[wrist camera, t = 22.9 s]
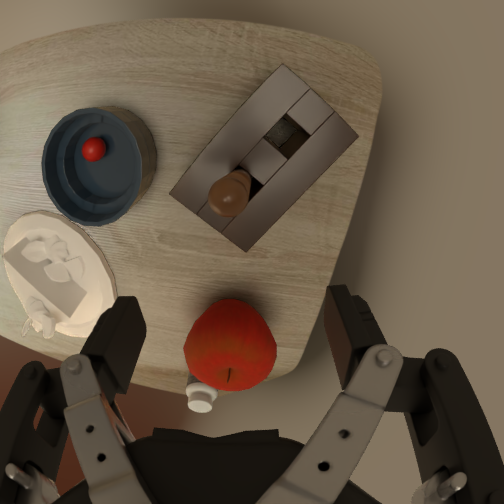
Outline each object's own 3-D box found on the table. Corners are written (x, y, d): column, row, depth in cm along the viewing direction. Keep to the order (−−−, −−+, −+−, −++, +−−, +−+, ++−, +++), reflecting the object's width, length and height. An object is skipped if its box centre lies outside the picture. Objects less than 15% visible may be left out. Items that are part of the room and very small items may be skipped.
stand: (184, 175, 36) (168, 194, 29) (275, 73, 30) (282, 63, 23) (246, 224, 39) (246, 253, 32) (336, 129, 33) (359, 136, 26)
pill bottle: (187, 367, 52) (180, 409, 43) (195, 350, 50) (187, 394, 41) (214, 375, 53) (210, 417, 44) (224, 359, 51) (220, 403, 42)
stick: (230, 175, 36) (196, 198, 15) (243, 163, 35) (228, 169, 14) (242, 188, 36) (224, 229, 15) (255, 176, 36) (257, 202, 15)
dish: (145, 313, 46) (124, 363, 36) (59, 342, 50) (37, 381, 40) (61, 183, 35) (13, 211, 25) (-9, 247, 40) (-44, 277, 30)
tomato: (110, 160, 33) (110, 136, 32) (95, 157, 30) (95, 132, 29) (92, 164, 33) (92, 142, 33) (76, 163, 30) (77, 138, 30)
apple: (186, 329, 47) (171, 397, 35) (203, 270, 42) (186, 339, 29) (257, 346, 49) (259, 415, 37) (284, 292, 44) (295, 364, 31)
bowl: (52, 172, 34) (28, 184, 29) (98, 87, 29) (75, 86, 24) (122, 228, 39) (105, 247, 33) (179, 146, 34) (166, 154, 29)
